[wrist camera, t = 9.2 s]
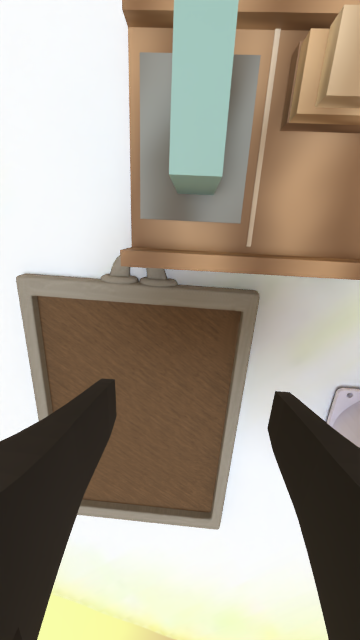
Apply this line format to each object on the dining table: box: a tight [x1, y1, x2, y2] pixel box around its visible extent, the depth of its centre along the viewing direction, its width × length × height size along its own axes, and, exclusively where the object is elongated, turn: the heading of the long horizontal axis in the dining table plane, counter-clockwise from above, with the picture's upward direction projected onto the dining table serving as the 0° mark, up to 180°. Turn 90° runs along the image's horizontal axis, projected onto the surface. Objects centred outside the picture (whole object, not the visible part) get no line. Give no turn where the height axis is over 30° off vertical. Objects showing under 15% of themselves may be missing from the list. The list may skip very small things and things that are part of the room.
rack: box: [120, 0, 360, 280], centre depth 15 cm, size 18×14×4 cm
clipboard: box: [16, 256, 259, 529], centre depth 24 cm, size 19×2×30 cm
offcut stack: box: [280, 5, 360, 133], centre depth 13 cm, size 6×4×4 cm, turn 87°
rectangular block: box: [169, 0, 239, 195], centre depth 13 cm, size 2×6×6 cm, turn 177°
